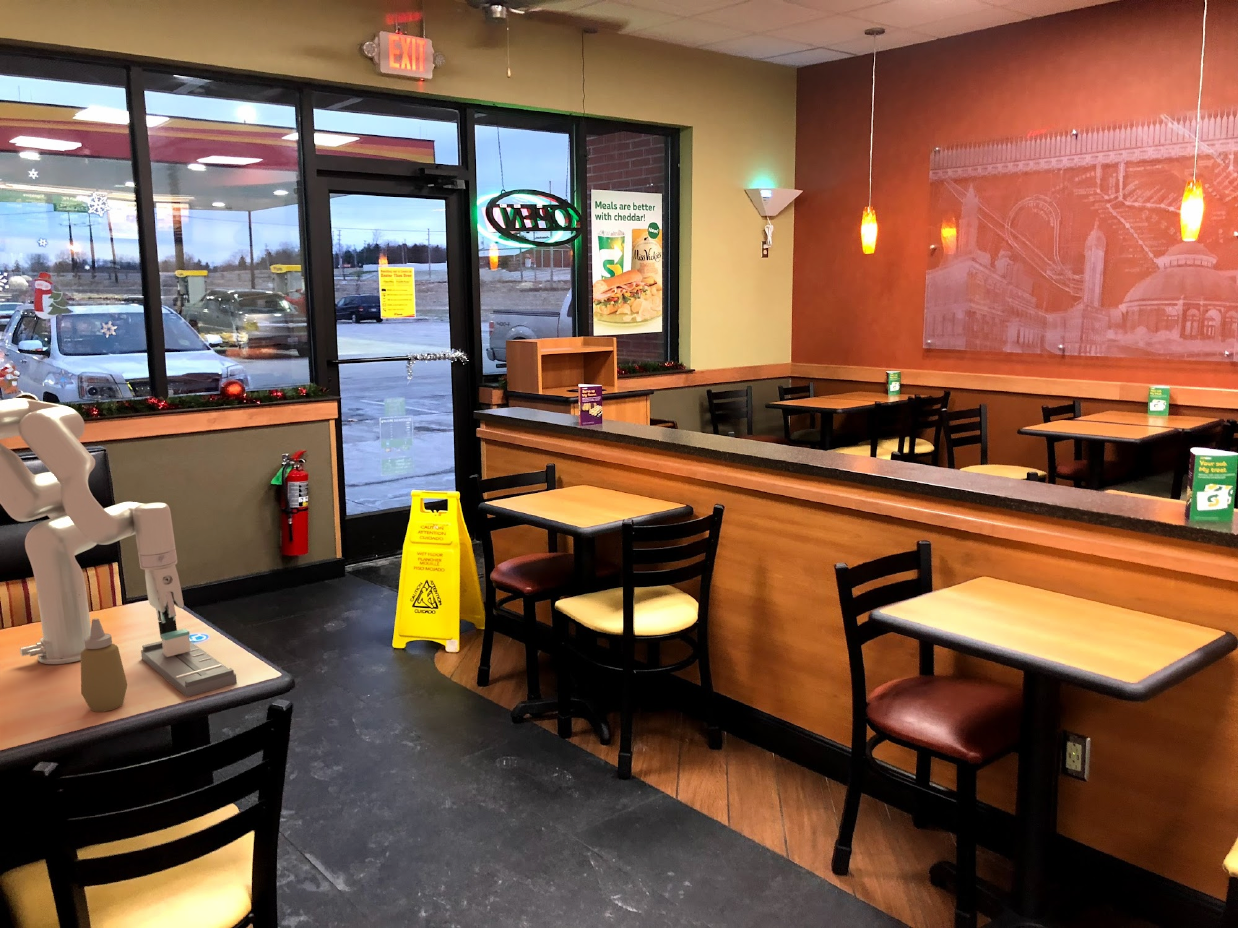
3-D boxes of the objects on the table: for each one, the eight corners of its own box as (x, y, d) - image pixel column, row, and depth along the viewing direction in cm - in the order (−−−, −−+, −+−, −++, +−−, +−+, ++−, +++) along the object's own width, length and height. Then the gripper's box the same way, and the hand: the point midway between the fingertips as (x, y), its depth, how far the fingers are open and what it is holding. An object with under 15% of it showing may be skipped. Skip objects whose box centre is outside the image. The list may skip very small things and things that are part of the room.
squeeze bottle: (83, 718, 187) (71, 629, 184) (84, 703, 195) (72, 617, 191) (130, 709, 191) (118, 621, 188) (129, 694, 198) (118, 610, 195)
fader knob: (166, 657, 212) (164, 637, 211) (162, 653, 214) (160, 634, 213) (191, 650, 215) (189, 631, 214) (187, 647, 217) (185, 628, 216)
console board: (186, 697, 196) (185, 683, 196) (141, 658, 218) (140, 645, 218) (236, 682, 203) (235, 669, 202) (188, 647, 225) (186, 634, 224)
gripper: (187, 560, 213) (198, 641, 216) (165, 549, 224) (176, 626, 227) (150, 568, 208) (162, 650, 211) (130, 557, 219) (141, 635, 222)
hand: (169, 637), depth 219 cm, fingers closed
